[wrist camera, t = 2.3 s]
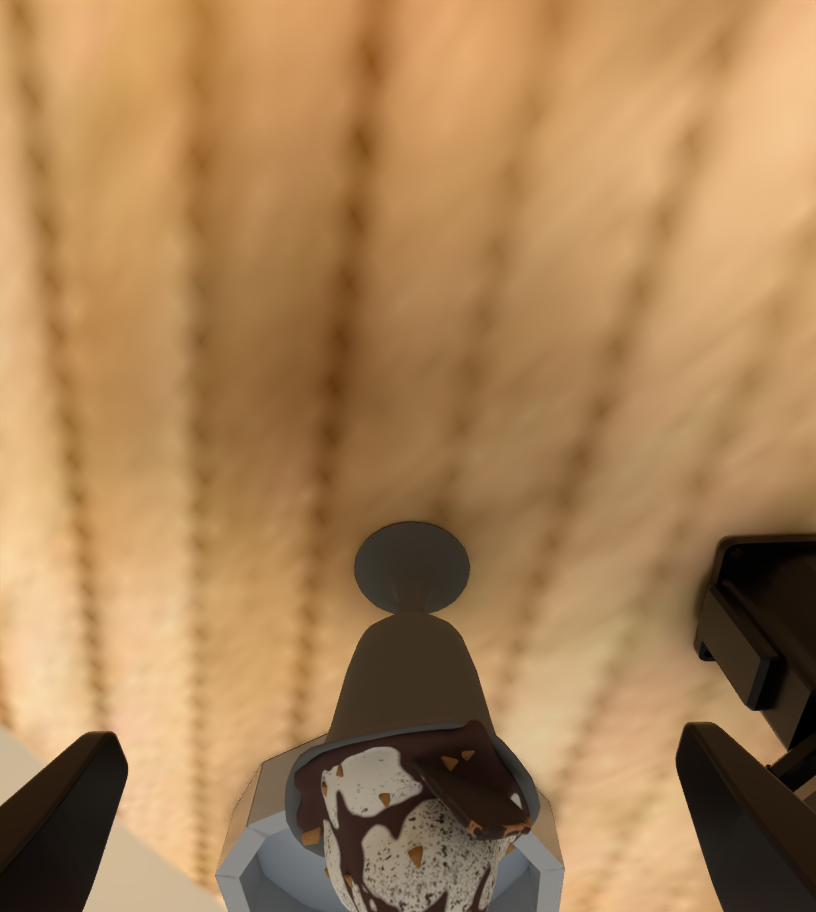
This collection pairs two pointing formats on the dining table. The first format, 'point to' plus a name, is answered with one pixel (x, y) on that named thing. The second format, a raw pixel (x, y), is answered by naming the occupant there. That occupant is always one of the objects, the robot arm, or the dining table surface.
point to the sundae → (411, 749)
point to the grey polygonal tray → (302, 872)
